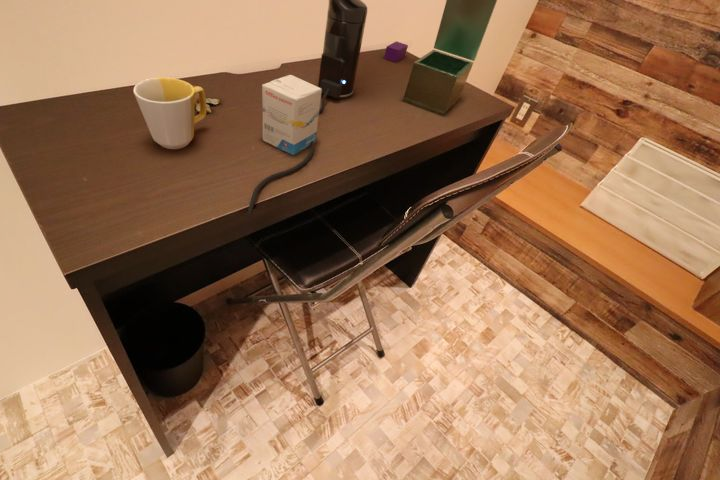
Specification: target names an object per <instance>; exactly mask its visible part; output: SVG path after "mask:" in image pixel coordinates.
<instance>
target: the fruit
mask: <svg viewBox="0 0 720 480" xmlns="http://www.w3.org/2000/svg"><path fill="white" fill-rule="evenodd" d="M191 85H192V86H193V87H196V86H197V85H194V84H191ZM205 98H206V114H208V113H209V114H211V113H212V109H211V106H210V105H209V104H211V105H212V104H213V105H214V106H215V105H218V104H220V102H221V100H220V99H219V98H209V97H205ZM195 110H196V112H198V113H200V99H199V93H196V94H195Z"/></svg>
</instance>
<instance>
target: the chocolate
mask: <svg viewBox="0 0 720 480" xmlns="http://www.w3.org/2000/svg"><path fill="white" fill-rule="evenodd" d="M408 47H409V45H408V44H406V43H403V42H400V41H394V42H392V43H391V44H388V45H387V46H386V48H385V52H384V56H383V59H385V60H388V61H390V62H394V63H397V62H399V61H400V60H402V59H404V58H405V57H406V55H407V50H408Z"/></svg>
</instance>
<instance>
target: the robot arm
mask: <svg viewBox="0 0 720 480" xmlns="http://www.w3.org/2000/svg"><path fill="white" fill-rule="evenodd" d="M367 16H368V5H367V4H366V3H364V2H363V1H362V0H328V4H327V16H326V24H325V32H324V39H323V50H322V53H321V57H320V64H319V65H320V66H319V75H318V84H317V87H319V88H321V89H322V92H321V95H322V97H321V101H320V109H319V114H321V113H322V112H323V111H324V109H325V102H326V98H327V97H328V98H331V99H333V100H336V101H338V100H340V99H349V98H351V97H352V96H353V93H354V87H355V81H356V75H357V71H358V65H359V59H360V54H361V48H362V43H363V37H364V32H365V27H366V21H367V18H368V17H367ZM314 152H315V143H314V142H313V141H312V142H311V143H310V149H309V153H308V154H307V156H306V157H305V158H304V159H303V160H302V161H301V162H299V163H298V164H296V165H295V166H293V167H291V168H288V169H286V170H282V171H279V172H276V173H273V174H271V175H269V176H267V177H266V178H264V179H263V180H262V181H261V182H260V183H258V184H257V185H256V187H255V189H253V192H252V195H251V198H250V202H249V205H248V208H247V215H251V214H252V213H253V210H254V208H255V204H256V200H257V197H258V194H259V192H260V191H261V189H262V188H263V187H264V186H265V185H266V184H267V183H269V182H270V181H272V180H275V179H277V178H280V177H283V176H287V175H289V174H292V173H294V172H297V171H298V170H299V169H301V168H302V167H303V166H304V165H306V164H307V163H308V162H309V161H310V160H311V158H312V157H313V155H314Z"/></svg>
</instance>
